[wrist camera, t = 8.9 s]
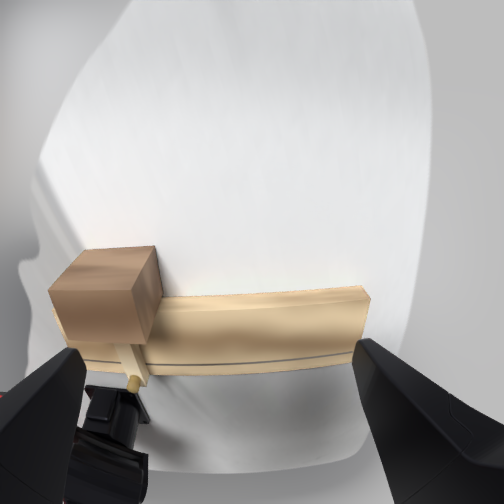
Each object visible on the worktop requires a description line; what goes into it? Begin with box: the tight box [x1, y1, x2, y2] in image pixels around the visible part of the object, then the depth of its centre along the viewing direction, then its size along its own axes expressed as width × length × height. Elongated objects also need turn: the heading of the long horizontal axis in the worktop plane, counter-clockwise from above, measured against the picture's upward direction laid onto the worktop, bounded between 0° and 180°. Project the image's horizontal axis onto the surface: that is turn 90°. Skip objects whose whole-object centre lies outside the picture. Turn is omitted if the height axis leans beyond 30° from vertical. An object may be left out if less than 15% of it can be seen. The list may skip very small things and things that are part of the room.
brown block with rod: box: [48, 246, 163, 393], centre depth 20 cm, size 11×6×6 cm, turn 1°
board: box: [52, 286, 371, 376], centre depth 23 cm, size 7×26×2 cm, turn 91°
